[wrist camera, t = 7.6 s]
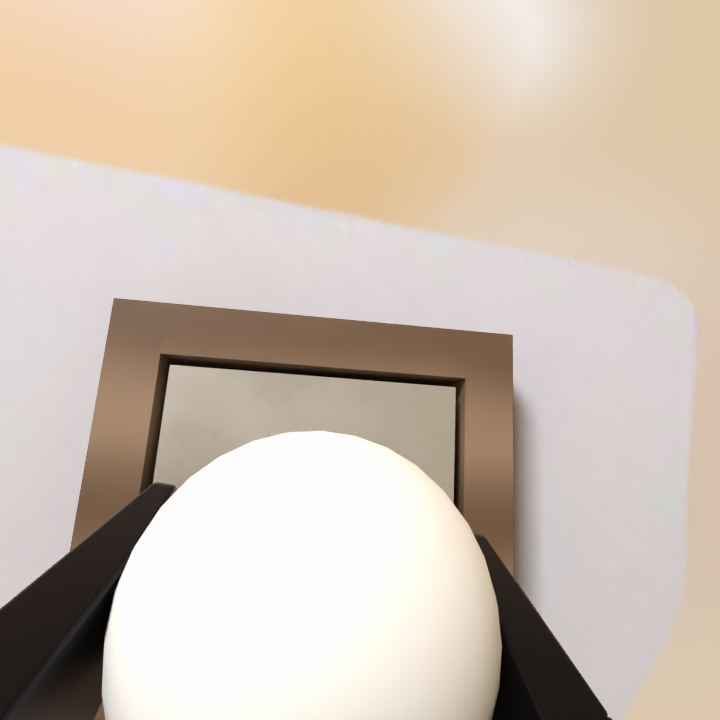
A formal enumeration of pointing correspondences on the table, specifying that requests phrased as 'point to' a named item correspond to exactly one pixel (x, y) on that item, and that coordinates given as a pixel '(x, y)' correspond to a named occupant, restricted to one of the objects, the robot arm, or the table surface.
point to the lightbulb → (304, 594)
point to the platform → (300, 417)
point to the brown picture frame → (299, 357)
